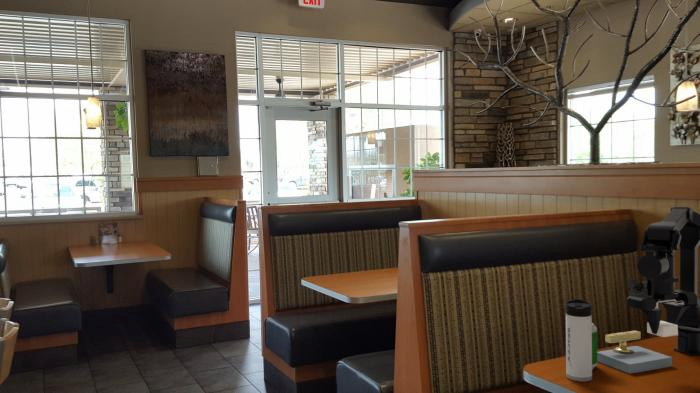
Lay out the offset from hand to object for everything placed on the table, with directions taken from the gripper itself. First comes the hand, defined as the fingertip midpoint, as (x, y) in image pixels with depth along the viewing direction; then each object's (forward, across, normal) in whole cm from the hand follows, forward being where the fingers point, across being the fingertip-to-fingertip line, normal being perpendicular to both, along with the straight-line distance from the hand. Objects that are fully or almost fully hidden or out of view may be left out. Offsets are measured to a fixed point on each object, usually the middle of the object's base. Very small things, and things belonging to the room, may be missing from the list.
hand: (662, 332), depth 153 cm
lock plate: (+11, 0, -10) cm, 15 cm away
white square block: (0, 0, 0) cm, 0 cm away
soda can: (+11, +14, -13) cm, 23 cm away
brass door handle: (+9, 0, -13) cm, 16 cm away
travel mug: (+11, +21, -7) cm, 25 cm away
